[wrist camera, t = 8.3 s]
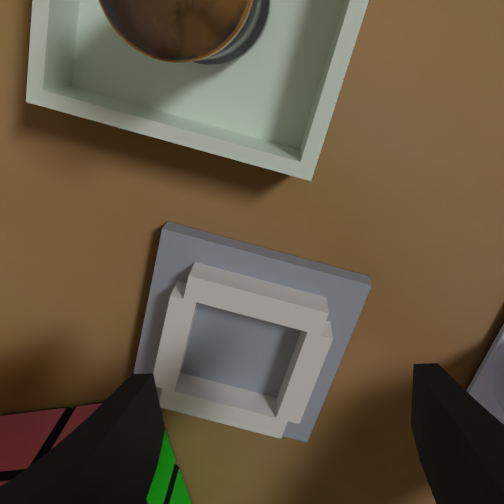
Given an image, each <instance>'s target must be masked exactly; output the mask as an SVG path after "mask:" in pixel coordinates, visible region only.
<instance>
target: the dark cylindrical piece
mask: <svg viewBox="0 0 504 504" xmlns="http://www.w3.org/2000/svg"><path fill="white" fill-rule="evenodd" d="M99 3H100V5H101V8H102V10H103V12H104V14H105V16H106V18H107V19H108V21H109V22H110V24H111V25H112V27H113V28H114V29H115V31H116V32H117V33H118V34H119V36H121V37H122V38H123V39H124V40H125V41H126V42H127V43H128V44H129V45H130V46H132V47H133V48H134V49H136V50H137V51H139V52H141V53H143V54H144V55H147V56H149V57H151V58H154V59H157V60H161V61H166V62H195V63H199V64H206V65H215V64H222V63H228V62H231V61H234V60H236V59H238V58H240V57H242V56H243V55H245V54H246V53H248V52H249V51H250V50H251V49H252V48H253V47H254V46H255V45H256V43H257V42H258V41H259V39H260V38H261V36H262V34H263V32H264V30H265V28H266V25H267V22H268V18H269V14H270V6H271V0H99Z"/></svg>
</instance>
